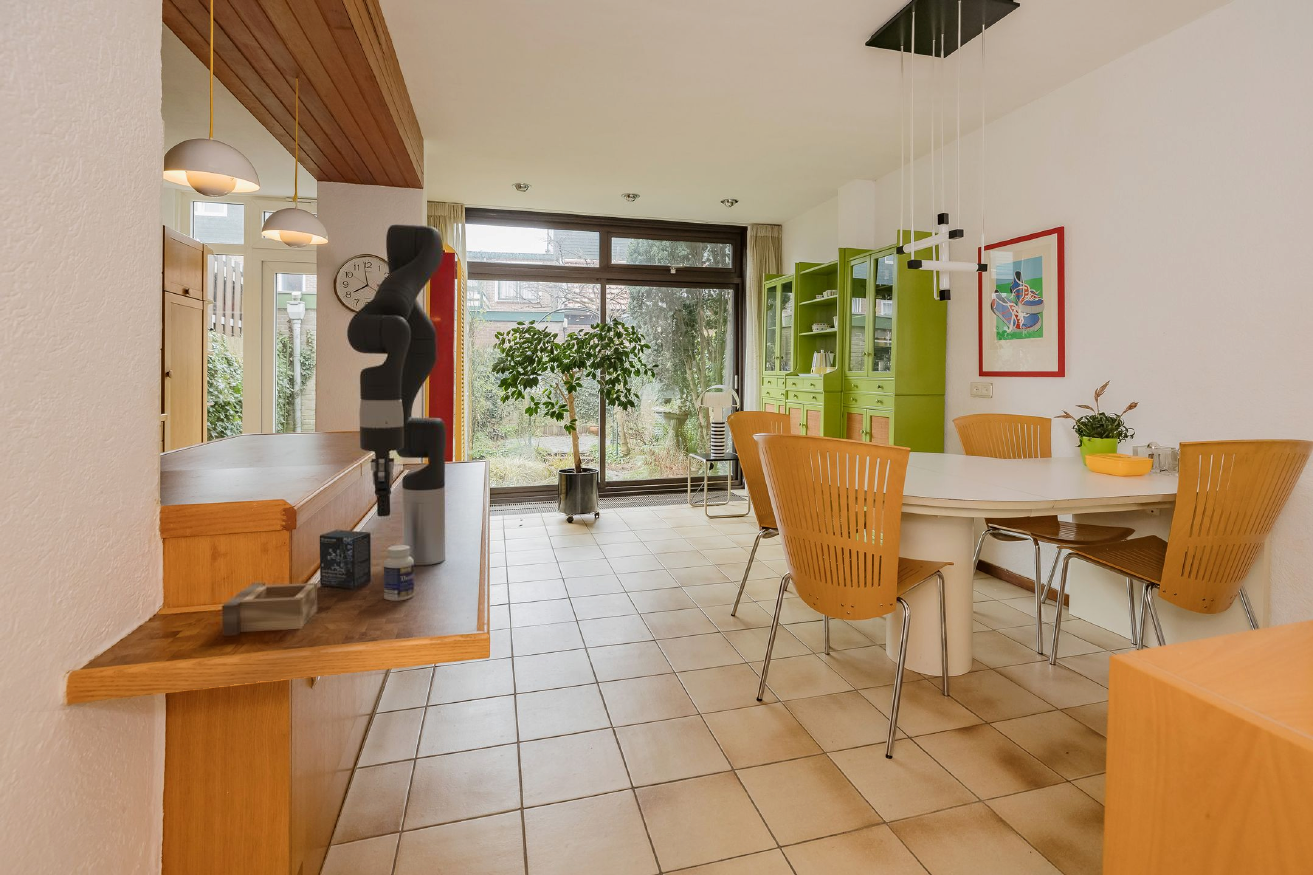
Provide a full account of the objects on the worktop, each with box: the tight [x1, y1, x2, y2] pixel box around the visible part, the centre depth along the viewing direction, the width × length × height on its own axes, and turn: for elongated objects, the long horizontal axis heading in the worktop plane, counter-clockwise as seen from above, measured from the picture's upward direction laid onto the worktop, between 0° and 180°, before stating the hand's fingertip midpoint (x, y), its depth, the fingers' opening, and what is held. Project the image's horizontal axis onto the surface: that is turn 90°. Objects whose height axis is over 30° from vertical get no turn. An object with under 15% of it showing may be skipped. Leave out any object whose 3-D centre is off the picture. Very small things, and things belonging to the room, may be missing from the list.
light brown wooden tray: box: [240, 582, 318, 633], centre depth 111 cm, size 9×9×5 cm
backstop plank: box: [221, 582, 266, 637], centre depth 110 cm, size 12×2×5 cm, turn 12°
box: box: [319, 529, 372, 590], centre depth 131 cm, size 8×6×11 cm
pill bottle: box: [383, 544, 415, 602], centre depth 124 cm, size 5×5×10 cm
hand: (383, 515), depth 122 cm, fingers closed
